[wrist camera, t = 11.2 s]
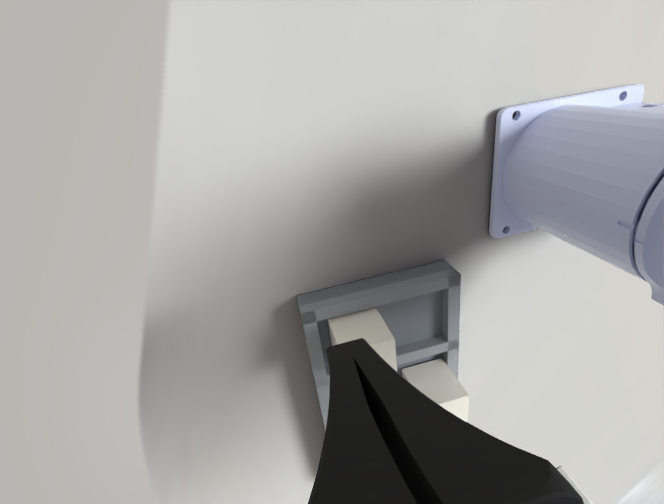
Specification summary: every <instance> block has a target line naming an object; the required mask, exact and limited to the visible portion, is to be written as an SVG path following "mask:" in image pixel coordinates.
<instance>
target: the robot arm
mask: <svg viewBox="0 0 664 504" xmlns="http://www.w3.org/2000/svg"><path fill="white" fill-rule="evenodd" d="M620 94H621V96H620ZM643 94H644V87H643V85H642V84H631V85H626V86H620V87H615V88H609V89H604V90H598V91H592V92H587V93H581V94H576V95H570V96H565V97H559V98H553V99H548V100H542V101H537V102H531V103H526V104H520V105H515V106H509V107H504V108H502V109H501V110H500V111H499V112H498V114H497V118H496V133H495V148H494V164H493V179H492V195H491V210H490V226H489V234H490V235H491V236H492V237H494V238H502V237H506V236H510V235H514V234H519V233H523V232H527V231H531V230H536V229H541V230H543V231H545V232H548V233H550V234H552V235H554V236H556V237H558V238H560V239H562V240H564V241H566V242H568V243H570V244H572V245H574V246H576V247H578V248H580V249H582V250H584V251H586V252H588V253H590V254H592V255H594V256H596V257H598V258H600V259H602V260H604V261H606V262H608V263H610V264H612V265H614V266H616V267H618V268H620V269H622V270H624V271H626V272H628V273H630V274H632V275H635V276H637V277H639V278H641V279H643V280H645V281H647V282H648V283H649V284H650V285H651V288H652V296H651V297H652V299H653V300H655V301H657V302H658V303H660V304H662V305H664V104H661V103H643V102H642V99H643ZM619 96H620V98H619ZM514 112H516V116H515V118H514V119H512V115H513V113H514ZM504 227H506V229H505V230H504V231H503V229H504ZM326 354H327V359H328V365H329V370H330V395H329V407H328V417H327V425H326V432H325V437H324V443H323V448H322V453H321V457H320V462H319V466H318V471H317V474H316V478H315V482H314V485H313V489H312V492H311V495H310V499H309V502H308V504H584V502H583V499H582V497H581V496H580V495H579V494H578V492H577V491H576V490H575V489H574V487H573V486H572V485H571V484H570V483H569V482H568V480H567V479H566V478H565V477H564V476H563V475H562V474H561V473H560V472H559V471H558V470H557V469H556V468H555V467H554V466H553V465H552V464H551V463H550V462H549V461H548V460H546V459H543V458H541V457H538V456H536V455H533V454H531V453H529V452H526V451H524V450H521V449H519V448H516V447H514V446H512V445H510V444H507V443H505V442H503V441H501V440H499V439H497V438H495V437H493V436H491V435H489V434H487V433H485V432H484V431H482V430H480V429H478V428H476V427H474V426H473V425H471V424H469V423H467V422H465V421H464V420H462V419H460V418H459V417H457V416H455V415H454V414H452V413H451V412H449V411H447V410H446V409H444V408H443V407H441V406H440V405H439V404H437V403H436V402H434V401H433V400H431V399H430V398H429V397H427V396H426V395H425V394H423V393H422V392H421V391H419V390H418V389H417V388H416V387H414V386H413V385H412V384H411V383H409V382H408V381H407V380H406V379H405V378H403V377H402V376H401V375H400V374H399V373H398V372H397V371H396V370H394V369H393V368H392V367H391V366H390V365H389V364H388V363H387V362H386V361H385V360H384V359H383V358H382V357H381V356H380V355H379V354H378V353H377V352H376V351H375V350H374V349H373V348H372V347H371V346H370V345H369V344H368V342H367V341H366V340H365V339H363V338H360V339H356V340H353V341H349V342H345V343H341V344H337V345H334V346H330V347H328V348H327V349H326Z"/></svg>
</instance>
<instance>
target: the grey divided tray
mask: <svg viewBox="0 0 664 504" xmlns="http://www.w3.org/2000/svg"><path fill="white" fill-rule="evenodd" d="M460 280H461V274H460V273H459V272H458V271H456V270H455V269H454V268H453V267H452V266H451V265H450V264H448V263H447V262H446V261H445V260H443V261H438V262H434V263H430V264H426V265H422V266H418V267H413V268H409V269H405V270H401V271H397V272H393V273H388V274H384V275H380V276H376V277H372V278H368V279H363V280H359V281H355V282H351V283H347V284H343V285H339V286H334V287H330V288H326V289H322V290H318V291H314V292H309V293H305V294H301V295H297V296H296V297H297V302H298V307H299V312H300V316H301V321H302V326H303V330H304V335H305V340H306V345H307V349H308V354H309V359H310V363H311V368H312V373H313V378H314V382H315V387H316V392H317V396H318V401H319V406H320V411H321V415H322V420H323V425H324V430H325V432H326V425H327V417H328V407H329V395H330V370H329V365H328V359H327V354H326V349H327V348H328V347H330V346H332V344H331V338H330V333H329V327H328V321H327V319H329V318H333V317H337V316H340V315H344V314H348V313H352V312H356V311H360V310H364V309H368V308H372V307H376V309H377V310H378V312H379V314H380V315H381V317H382V318H383V320H384V322H385V323H386V325H387V327H388V328H389V330H390V332H391V333H392V335H393V337H394V338H395V347H396V361H397V372H398V373H399V374H400V375H401V376H402V369H404V368H408V367H411V366H415V365H418V364H422V363H426V362H429V361H433V360H436V359H440V358H442V359H443V361H444V362H445V363H446V365H447V366H448V368H449V369H450V370H451V372H452V373H453V374H454V376H455V377H456V378H457V380H458V351H459V316H460Z"/></svg>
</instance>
